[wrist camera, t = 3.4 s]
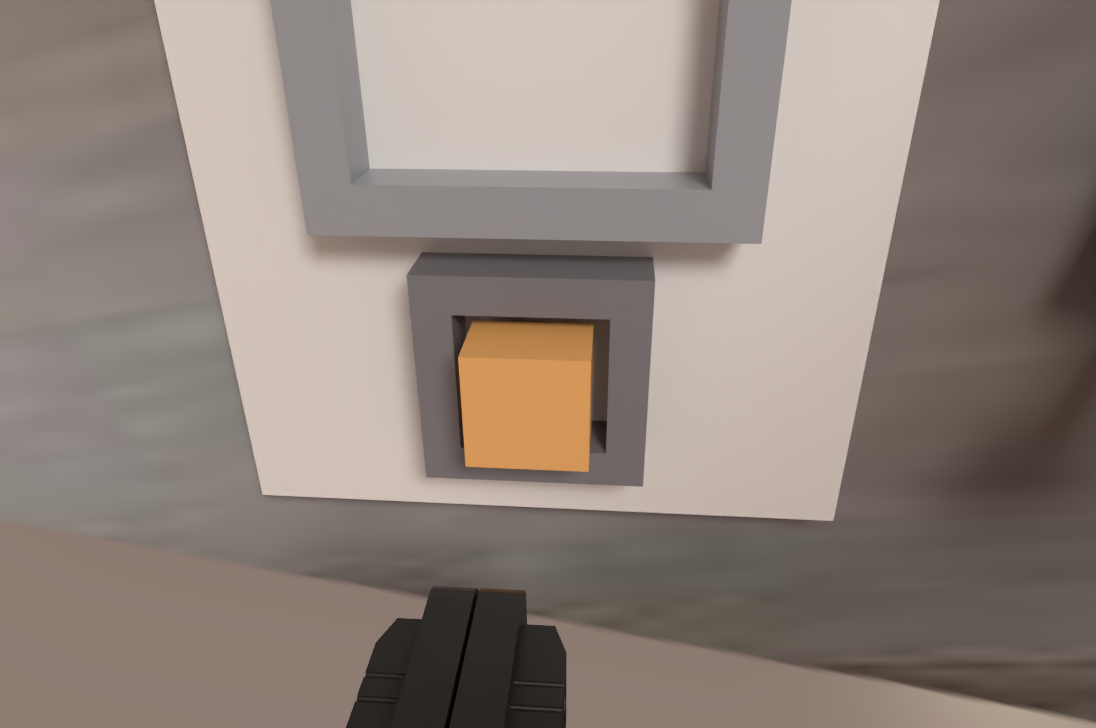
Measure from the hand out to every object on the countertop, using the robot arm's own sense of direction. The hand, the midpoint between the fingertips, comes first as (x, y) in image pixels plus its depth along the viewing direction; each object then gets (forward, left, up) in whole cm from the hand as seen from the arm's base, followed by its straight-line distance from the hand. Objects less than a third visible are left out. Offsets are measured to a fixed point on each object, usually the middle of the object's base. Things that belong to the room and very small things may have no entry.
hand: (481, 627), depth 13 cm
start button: (0, 0, -8) cm, 8 cm away
